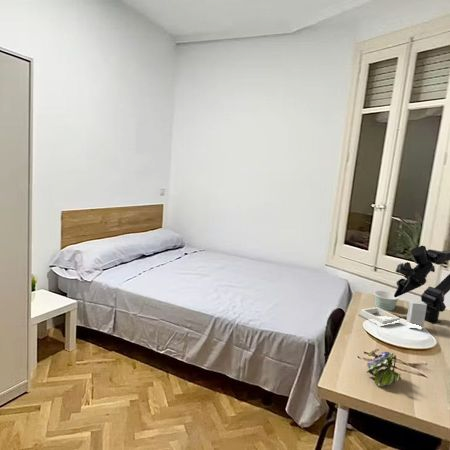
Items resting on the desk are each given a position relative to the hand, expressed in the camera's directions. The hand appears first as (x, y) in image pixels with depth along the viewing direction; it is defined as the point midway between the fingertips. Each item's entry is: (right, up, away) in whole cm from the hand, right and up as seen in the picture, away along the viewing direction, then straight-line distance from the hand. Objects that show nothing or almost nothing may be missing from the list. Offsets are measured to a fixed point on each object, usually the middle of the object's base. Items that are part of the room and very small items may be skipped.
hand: (398, 294), depth 161 cm
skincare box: (+8, -15, +3) cm, 18 cm away
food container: (+5, -11, +25) cm, 28 cm away
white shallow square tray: (-5, -13, +9) cm, 17 cm away
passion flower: (-24, -21, -40) cm, 51 cm away
